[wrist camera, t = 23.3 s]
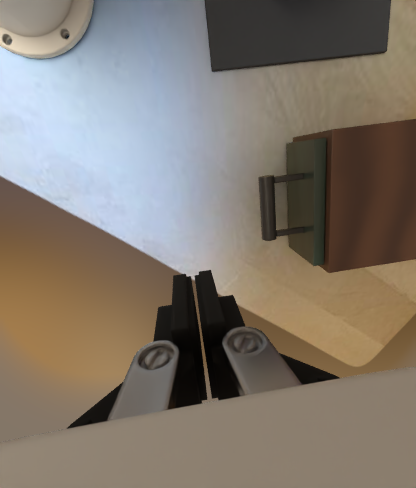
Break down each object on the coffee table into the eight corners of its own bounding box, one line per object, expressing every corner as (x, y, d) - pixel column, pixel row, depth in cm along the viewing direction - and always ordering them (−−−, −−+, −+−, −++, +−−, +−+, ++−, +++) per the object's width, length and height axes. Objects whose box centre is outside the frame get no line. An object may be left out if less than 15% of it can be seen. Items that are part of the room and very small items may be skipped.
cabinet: (294, 247, 36) (328, 273, 28) (292, 137, 32) (332, 129, 24) (401, 231, 37) (465, 251, 29) (414, 122, 33) (494, 109, 24)
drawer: (254, 251, 35) (271, 272, 28) (246, 148, 31) (264, 145, 24) (391, 231, 36) (437, 246, 29) (401, 128, 32) (459, 120, 25)
